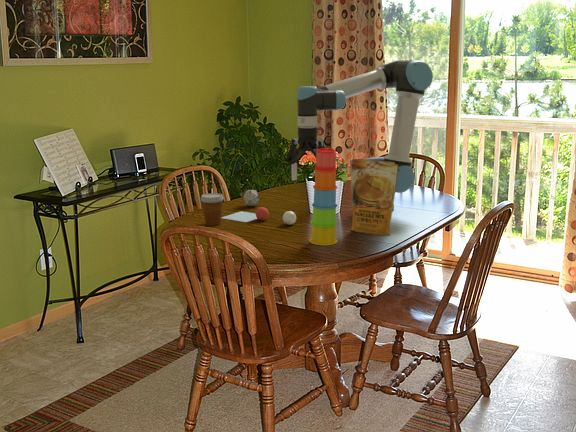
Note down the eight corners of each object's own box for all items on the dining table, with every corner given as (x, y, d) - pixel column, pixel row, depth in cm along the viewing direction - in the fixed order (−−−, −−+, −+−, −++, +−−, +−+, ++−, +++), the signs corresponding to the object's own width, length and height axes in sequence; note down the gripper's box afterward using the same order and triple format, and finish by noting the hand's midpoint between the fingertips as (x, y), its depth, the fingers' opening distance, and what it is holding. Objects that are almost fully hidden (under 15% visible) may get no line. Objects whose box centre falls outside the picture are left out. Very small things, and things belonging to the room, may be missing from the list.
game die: (254, 213, 324) (266, 195, 325) (252, 211, 316) (264, 192, 317) (238, 203, 326) (250, 184, 326) (235, 200, 317) (247, 181, 318)
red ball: (271, 219, 297) (271, 206, 296) (263, 222, 293) (263, 209, 291) (261, 217, 300) (260, 205, 299) (252, 220, 296) (252, 207, 295)
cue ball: (298, 223, 289) (298, 210, 288) (291, 226, 285) (290, 213, 284) (287, 222, 292) (287, 209, 291) (280, 224, 288) (279, 211, 287)
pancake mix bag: (353, 227, 282) (353, 157, 276) (398, 233, 273) (399, 161, 266) (345, 231, 277) (345, 160, 270) (390, 237, 267) (392, 163, 260)
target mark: (266, 215, 304) (266, 215, 304) (246, 222, 293) (246, 222, 293) (241, 211, 312) (241, 211, 312) (220, 218, 301) (220, 217, 301)
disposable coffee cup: (203, 227, 286) (202, 198, 283) (200, 222, 295) (198, 193, 292) (226, 225, 288) (225, 196, 285) (222, 220, 297) (221, 192, 294)
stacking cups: (335, 238, 267) (335, 146, 259) (338, 245, 257) (338, 150, 249) (308, 238, 267) (307, 147, 259) (310, 246, 257) (309, 151, 249)
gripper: (276, 126, 278) (277, 180, 283) (328, 129, 264) (328, 186, 269) (287, 124, 284) (288, 177, 289) (339, 127, 270) (339, 183, 275)
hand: (307, 181), depth 279 cm, fingers open, 12 cm apart
